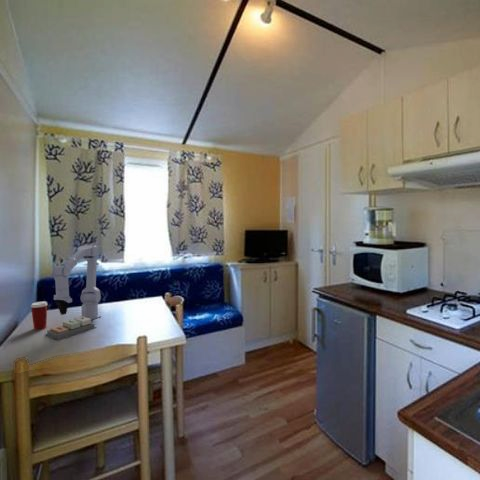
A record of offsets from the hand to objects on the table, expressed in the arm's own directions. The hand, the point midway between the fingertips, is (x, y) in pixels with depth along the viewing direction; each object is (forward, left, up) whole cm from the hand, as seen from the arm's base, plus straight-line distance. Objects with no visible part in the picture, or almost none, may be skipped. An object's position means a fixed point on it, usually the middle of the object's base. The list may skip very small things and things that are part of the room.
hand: (63, 314), depth 150 cm
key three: (0, -2, -9) cm, 10 cm away
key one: (0, +10, -8) cm, 12 cm away
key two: (0, +4, -8) cm, 9 cm away
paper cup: (-19, -3, -11) cm, 22 cm away
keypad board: (0, +4, -10) cm, 11 cm away
